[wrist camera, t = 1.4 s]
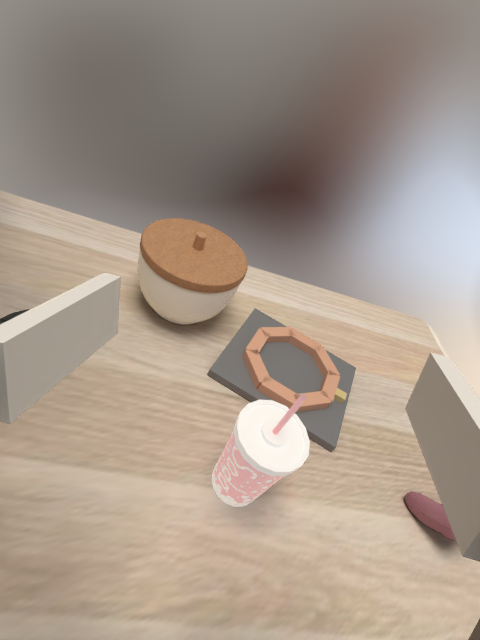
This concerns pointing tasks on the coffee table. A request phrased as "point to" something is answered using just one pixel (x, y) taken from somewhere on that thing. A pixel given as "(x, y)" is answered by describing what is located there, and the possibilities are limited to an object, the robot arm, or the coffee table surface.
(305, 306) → the coffee table surface
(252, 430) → the beverage cup
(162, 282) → the lidded bowl
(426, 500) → the video game controller
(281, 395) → the ring board
